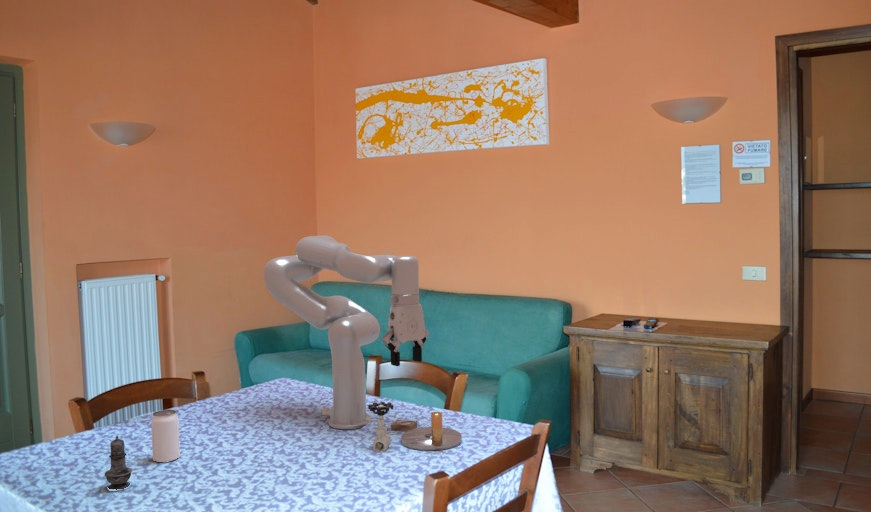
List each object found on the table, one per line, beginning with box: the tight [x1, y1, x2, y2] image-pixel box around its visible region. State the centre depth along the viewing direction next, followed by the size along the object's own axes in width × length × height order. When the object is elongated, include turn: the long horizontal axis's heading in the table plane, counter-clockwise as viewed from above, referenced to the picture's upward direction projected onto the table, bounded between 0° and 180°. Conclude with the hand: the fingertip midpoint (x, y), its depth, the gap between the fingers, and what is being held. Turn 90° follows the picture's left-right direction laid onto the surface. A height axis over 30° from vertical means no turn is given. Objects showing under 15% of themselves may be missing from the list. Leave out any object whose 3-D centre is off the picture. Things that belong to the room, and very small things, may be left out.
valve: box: [367, 401, 394, 453], centre depth 186 cm, size 7×7×12 cm
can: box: [150, 409, 181, 463], centre depth 182 cm, size 6×6×12 cm
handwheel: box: [400, 411, 463, 452], centre depth 190 cm, size 16×16×9 cm
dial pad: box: [390, 419, 418, 432], centre depth 202 cm, size 6×5×3 cm
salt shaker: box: [104, 435, 133, 490], centre depth 163 cm, size 6×6×12 cm
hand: (406, 362), depth 200 cm, fingers open, 7 cm apart
